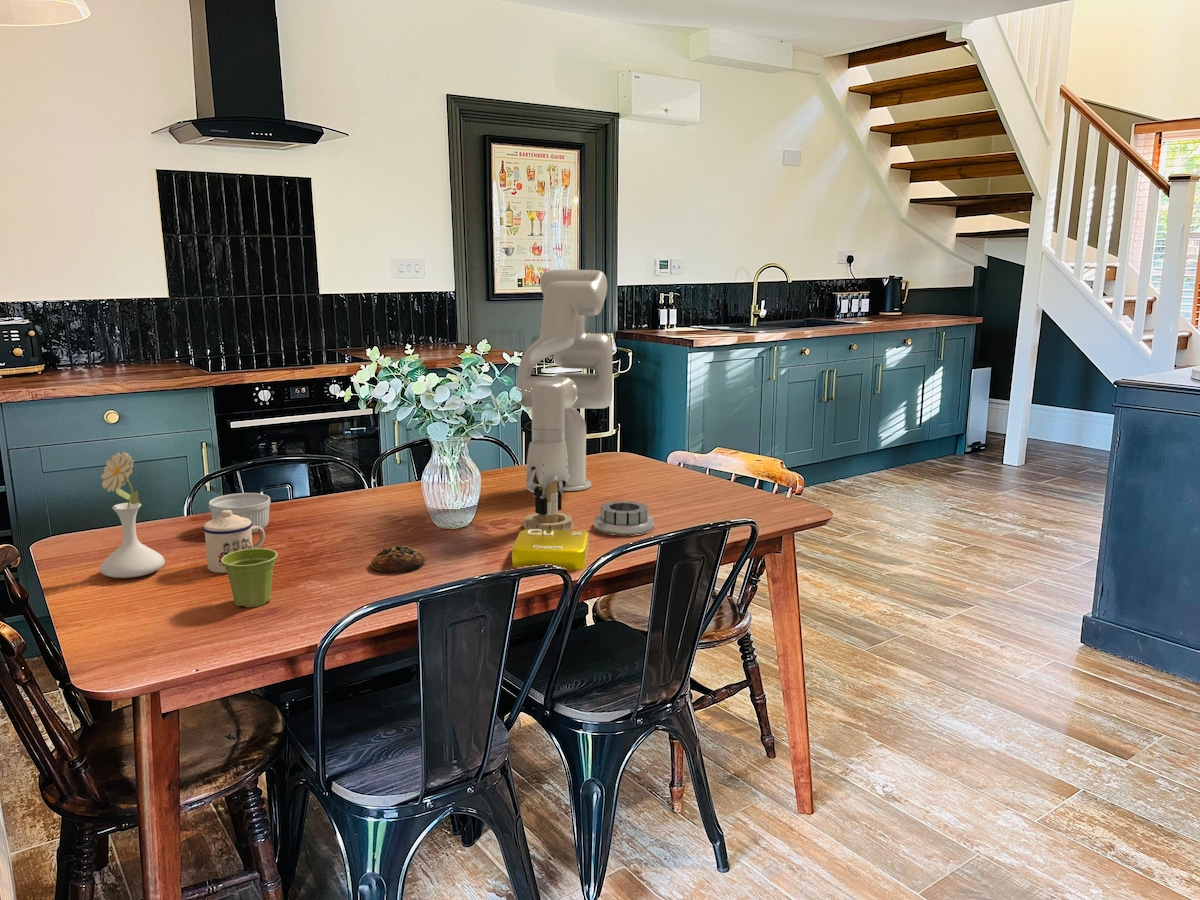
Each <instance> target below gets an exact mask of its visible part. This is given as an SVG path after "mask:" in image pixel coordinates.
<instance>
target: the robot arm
mask: <svg viewBox="0 0 1200 900" xmlns="http://www.w3.org/2000/svg"><path fill="white" fill-rule="evenodd" d="M539 284H540V285H539V286H540V290H541V293H542V295H543V299H542V301H543V302H542V311H541V322H540V323H541V325H540V333H539V337H538V338H537V339H536V340H535V341H534V342H533V343H532V344H531V345H530V346H529V347H528V348H527V350H526V351H525V352H524V354H523V356H522V357H521V360H520V362H519V365H518V372H517V379H516V380H517V381H516V391H517V390H518V391H520V392H521V393H522V394H521V395H522V400H521V401H518V400H517V402H518V404H519V405H520V406H521V407H522V408H523V407H524V408H528V409H531V441H530V442H529V445H528V449H527V457H526V472H525V473H526V475H525V476H526V477H525V479H526V484H525V489H527V490H528V491H529V492H530V493H531V494H532V496H533V497H534V503H535V504H534V507H535V509H534V512H535V513H537V514H542V515H546V514H547V498H545V494H546V487H547V485H549V484H552V483H553V482H554V481H553V479H554V477H555V475H557V478H558V480H556V481H557V486H558V487H557V488H558V490H557V491H558V512H560V511H561V510H562V508H563V507H562V503H563V501H562V494H563V493H564V492H577V491H583V490H587V489H589V488H591V487H592V481H591V480H590V479H588V478H586V476H587V423H586V420H585V419H584V417H583V416H582V414H581V413H580V412H579V409H580V410H581V409H591V410H592V409H593V410H594V409H595V410H597V409H606V408H608V407H610V405H611V404H612V401H613V400H612V399H613V389H614V388H613V386H614V385H613V345H612V341H611V339H610V337H608V336H607V335H606V334H603V333H586V331H585V319H586V318H585V317H586V316H590V317H591V316H592V317H593V316H594V317H595V316H598V315H599V314H600V313H601V312H602V310H603V307H604V303H605V300H606V297H607V292H608V280H607V276H606V274H605V273H604V272H603V271H601V270H598V269H597V270H596V269H551V270H547V271H543V272H542V274H541V275H540V279H539ZM551 356H553V360H554V361H553V362H554V363H555V365H556V366H557V367H559V368H562V369H573V370H575V369H577V370H579V369H580V370H583V369H584V370H593V371H594V372H595V373H584V372H562V373H557V374H555V375H553V376H533V375H532V371H533V369H534V368H535V366H536V365H538V364H539V363H540V362H541V361H543V360H545V359H547V358H548V357H549V358H550V357H551ZM517 388H519V389H521V390H519V389H517ZM531 388H532V389H531ZM525 390H527V391H525ZM529 391H530V392H529ZM577 409H578V410H577ZM540 487H541V491H540Z"/></svg>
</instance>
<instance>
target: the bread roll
mask: <svg viewBox="0 0 1200 900" xmlns="http://www.w3.org/2000/svg"><path fill="white" fill-rule="evenodd" d="M425 560H426V556H425V555H424V553H423V552H422V551H421V550H418V549H416V548H413V547H410V546H408V545H407V546H406V545H403V546H402V545H397V544H396V545H394V546H389V547H388V548H382V550H380V551H379V552H378V553H377V554H376V555H374V557H373V558H372V559H371V561H370V563H371V564H370V567H371V568H372V569H373V570H374V571H376V572H382V573H388V574H403V573H404V574H405V573H412V572H414V571H417V570H420V568H422V567H423V566H424V564H425Z"/></svg>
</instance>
